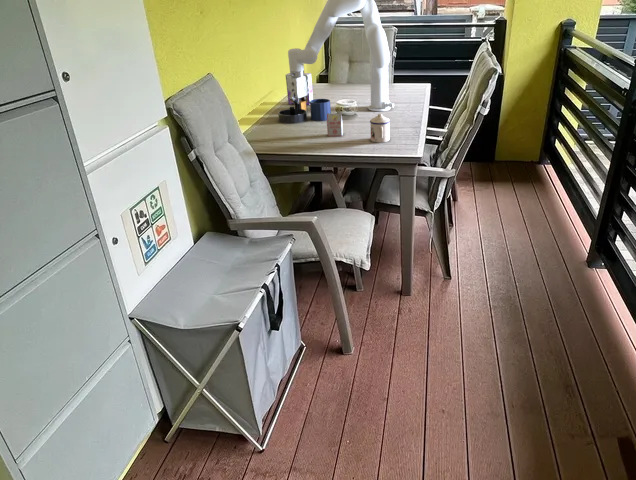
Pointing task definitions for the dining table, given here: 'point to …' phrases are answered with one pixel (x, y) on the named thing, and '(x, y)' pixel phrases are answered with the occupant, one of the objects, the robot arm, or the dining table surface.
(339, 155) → the dining table surface
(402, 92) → the dining table surface
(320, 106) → the pot
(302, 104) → the block
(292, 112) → the lid
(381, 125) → the teacup with lid
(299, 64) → the robot arm
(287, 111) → the pan
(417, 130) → the dining table surface
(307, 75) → the candy box
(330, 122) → the white printed carton
